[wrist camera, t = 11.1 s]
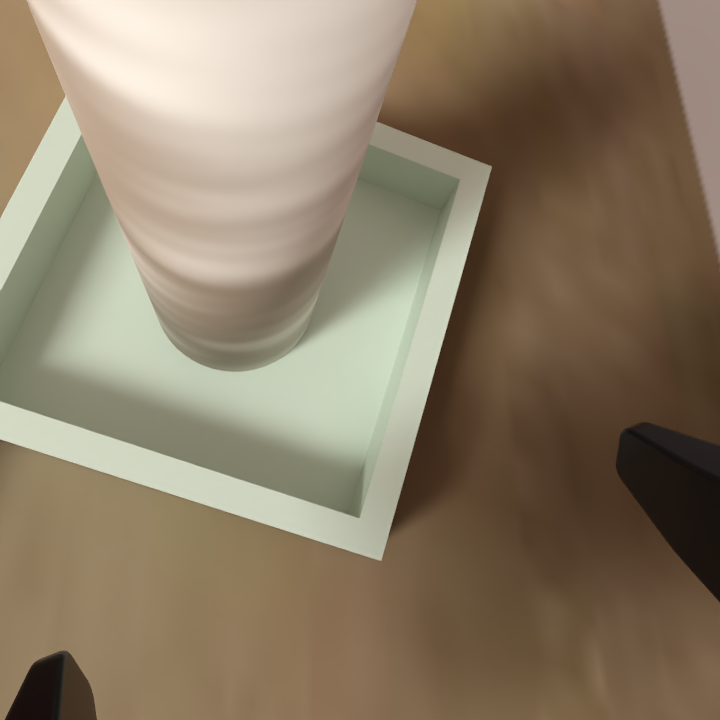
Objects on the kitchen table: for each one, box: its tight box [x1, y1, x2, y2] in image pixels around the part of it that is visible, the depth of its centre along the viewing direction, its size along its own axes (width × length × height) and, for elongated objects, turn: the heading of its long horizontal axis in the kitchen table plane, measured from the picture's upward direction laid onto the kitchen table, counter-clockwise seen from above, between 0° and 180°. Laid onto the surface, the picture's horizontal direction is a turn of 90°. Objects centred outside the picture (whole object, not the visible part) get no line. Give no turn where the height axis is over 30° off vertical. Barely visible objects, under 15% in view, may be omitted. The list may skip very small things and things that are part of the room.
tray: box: [0, 97, 492, 561], centre depth 18 cm, size 12×12×2 cm
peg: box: [27, 0, 417, 372], centre depth 12 cm, size 4×4×14 cm
